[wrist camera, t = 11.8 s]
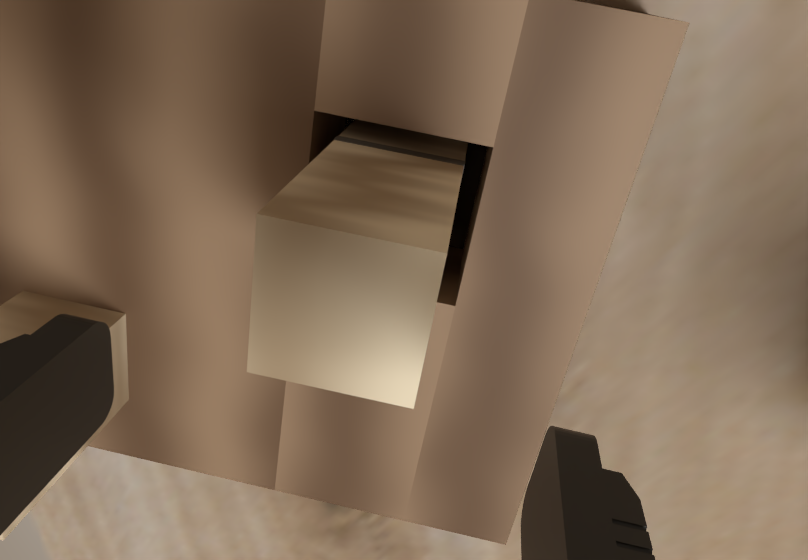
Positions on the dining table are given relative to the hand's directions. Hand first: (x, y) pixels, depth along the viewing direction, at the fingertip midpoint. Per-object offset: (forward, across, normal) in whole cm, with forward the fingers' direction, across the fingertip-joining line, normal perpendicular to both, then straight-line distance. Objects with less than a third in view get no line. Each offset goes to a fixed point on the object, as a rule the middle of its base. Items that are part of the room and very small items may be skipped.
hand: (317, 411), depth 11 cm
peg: (+15, 0, 0) cm, 15 cm away
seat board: (+15, +5, +3) cm, 16 cm away
